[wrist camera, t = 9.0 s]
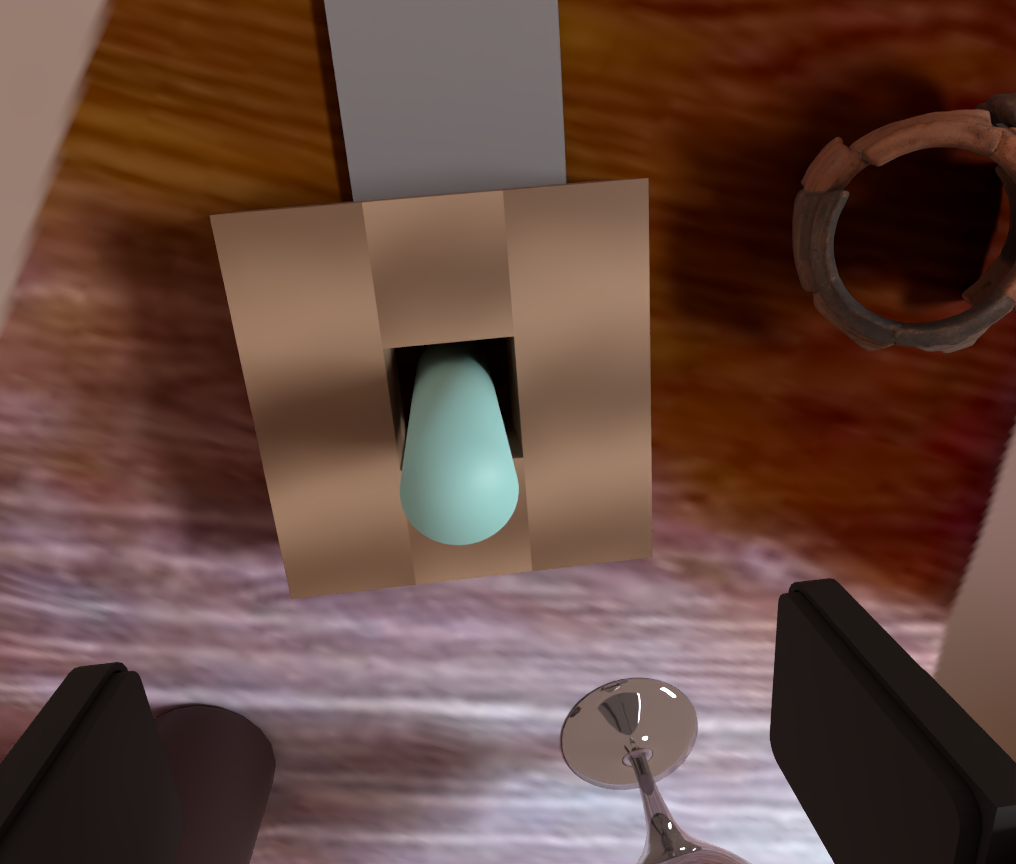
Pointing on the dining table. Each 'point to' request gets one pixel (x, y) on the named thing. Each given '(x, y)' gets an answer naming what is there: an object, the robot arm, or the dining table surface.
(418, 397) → the peg
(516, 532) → the hole block
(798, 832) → the dining table surface
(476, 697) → the dining table surface
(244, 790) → the bottle
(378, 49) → the mat
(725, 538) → the dining table surface
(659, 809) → the wine glass
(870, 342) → the brown hollow rounded piece
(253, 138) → the dining table surface
